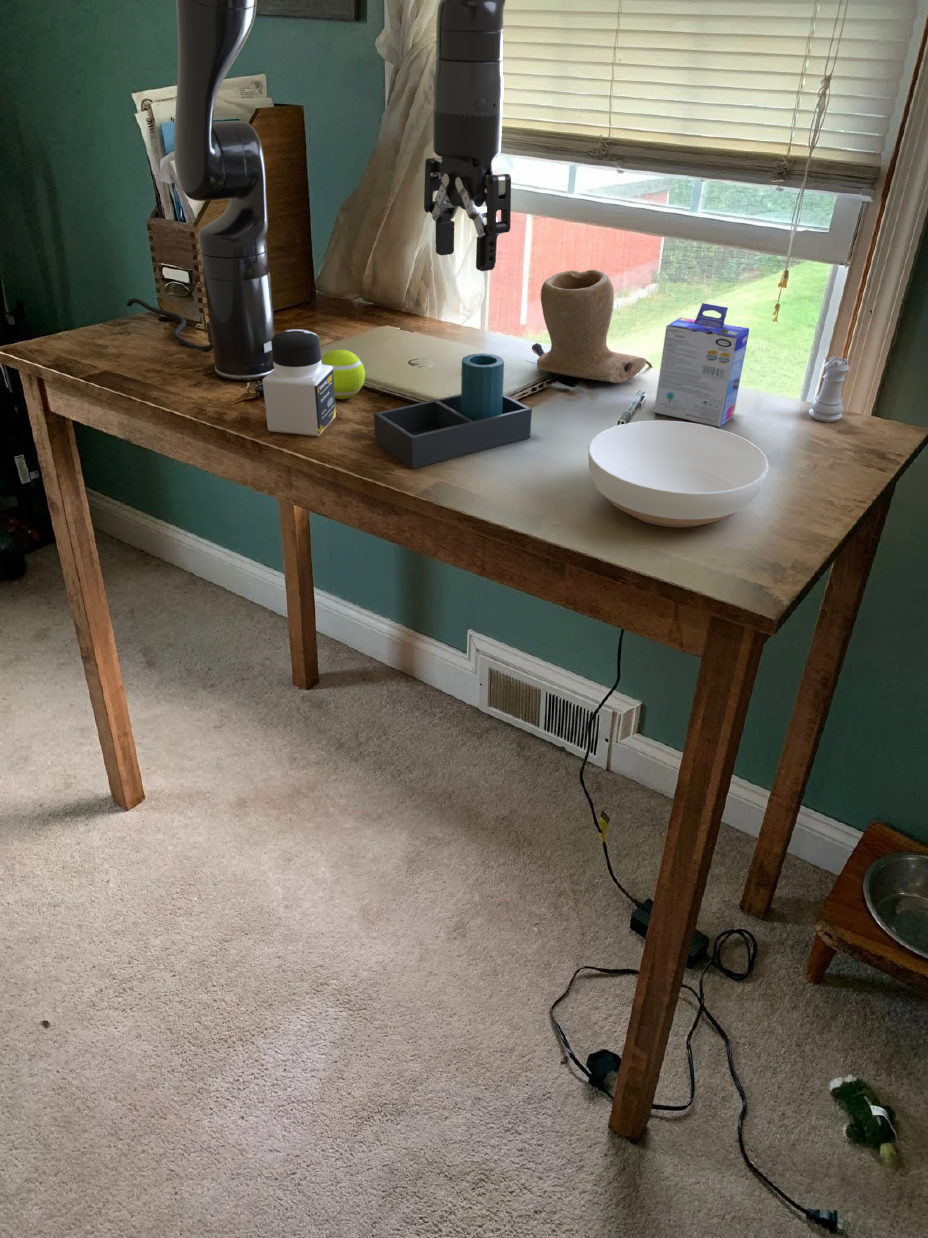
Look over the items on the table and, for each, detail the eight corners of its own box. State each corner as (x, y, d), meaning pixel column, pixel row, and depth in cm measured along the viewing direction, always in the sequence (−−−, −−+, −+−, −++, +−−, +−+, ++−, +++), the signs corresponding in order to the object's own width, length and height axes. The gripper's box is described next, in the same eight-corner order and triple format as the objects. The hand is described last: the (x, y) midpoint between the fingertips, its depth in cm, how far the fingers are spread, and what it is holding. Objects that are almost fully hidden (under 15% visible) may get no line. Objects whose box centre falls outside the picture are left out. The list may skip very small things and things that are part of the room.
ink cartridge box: (735, 416, 129) (755, 309, 121) (722, 429, 125) (741, 319, 117) (667, 401, 134) (682, 297, 126) (652, 413, 130) (667, 306, 122)
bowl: (630, 454, 118) (636, 407, 115) (782, 496, 109) (794, 446, 106) (551, 512, 105) (555, 461, 101) (718, 565, 96) (728, 511, 92)
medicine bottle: (319, 437, 121) (312, 344, 114) (267, 432, 122) (257, 339, 116) (336, 416, 127) (331, 327, 120) (286, 412, 128) (278, 323, 121)
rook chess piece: (802, 416, 130) (815, 359, 125) (816, 408, 132) (830, 351, 128) (833, 425, 127) (847, 367, 123) (847, 416, 130) (861, 359, 125)
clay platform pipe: (520, 377, 141) (525, 273, 132) (556, 356, 149) (563, 257, 141) (613, 398, 134) (625, 290, 126) (646, 374, 143) (659, 272, 134)
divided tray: (374, 443, 120) (373, 413, 118) (489, 415, 128) (490, 386, 126) (412, 469, 114) (411, 438, 111) (530, 438, 122) (532, 408, 120)
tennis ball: (362, 406, 130) (360, 359, 126) (314, 405, 130) (310, 357, 127) (369, 389, 136) (367, 343, 132) (322, 388, 136) (319, 342, 132)
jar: (453, 425, 123) (454, 357, 118) (486, 417, 125) (488, 350, 120) (475, 439, 119) (477, 369, 114) (509, 430, 122) (512, 362, 117)
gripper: (535, 113, 100) (525, 271, 109) (460, 98, 109) (457, 245, 119) (477, 116, 96) (472, 280, 105) (404, 101, 106) (406, 252, 115)
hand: (464, 261), depth 112 cm, fingers open, 8 cm apart
